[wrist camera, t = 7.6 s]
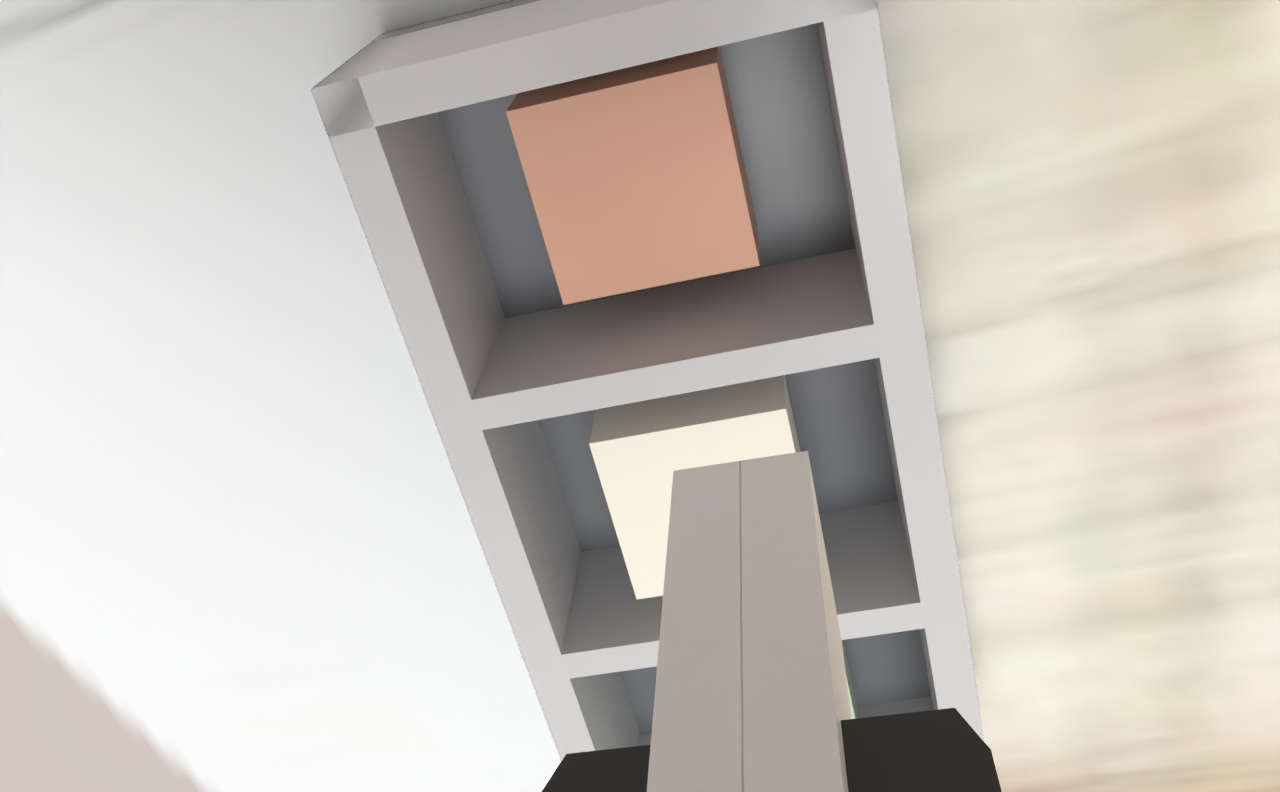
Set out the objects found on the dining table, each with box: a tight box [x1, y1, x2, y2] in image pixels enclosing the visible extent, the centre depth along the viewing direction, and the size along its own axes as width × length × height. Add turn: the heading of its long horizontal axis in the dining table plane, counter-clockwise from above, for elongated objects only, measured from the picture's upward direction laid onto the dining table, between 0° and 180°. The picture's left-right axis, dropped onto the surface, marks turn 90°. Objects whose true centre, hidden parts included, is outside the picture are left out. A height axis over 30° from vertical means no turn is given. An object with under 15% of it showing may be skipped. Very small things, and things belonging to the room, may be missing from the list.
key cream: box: [589, 375, 801, 599], centre depth 29 cm, size 5×5×2 cm
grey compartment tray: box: [311, 0, 984, 761], centre depth 30 cm, size 23×11×5 cm, turn 14°
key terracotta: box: [506, 46, 760, 305], centre depth 26 cm, size 5×5×2 cm
